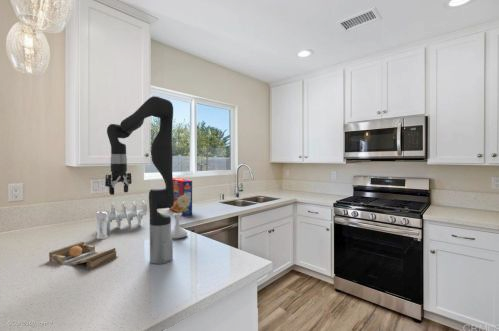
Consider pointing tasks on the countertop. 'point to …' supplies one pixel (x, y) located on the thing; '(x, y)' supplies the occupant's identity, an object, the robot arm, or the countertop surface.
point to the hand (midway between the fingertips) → (119, 193)
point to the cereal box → (182, 189)
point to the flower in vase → (177, 230)
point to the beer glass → (102, 224)
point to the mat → (81, 256)
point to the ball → (75, 251)
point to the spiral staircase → (127, 214)
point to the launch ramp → (98, 258)
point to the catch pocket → (67, 252)
